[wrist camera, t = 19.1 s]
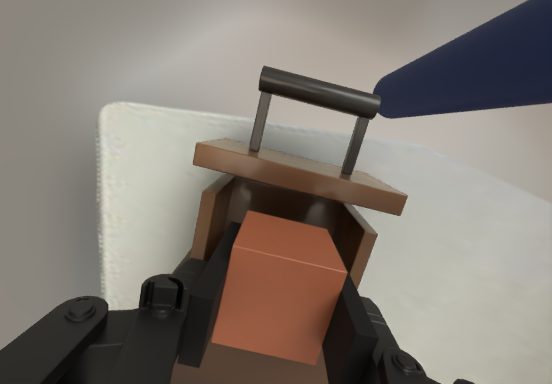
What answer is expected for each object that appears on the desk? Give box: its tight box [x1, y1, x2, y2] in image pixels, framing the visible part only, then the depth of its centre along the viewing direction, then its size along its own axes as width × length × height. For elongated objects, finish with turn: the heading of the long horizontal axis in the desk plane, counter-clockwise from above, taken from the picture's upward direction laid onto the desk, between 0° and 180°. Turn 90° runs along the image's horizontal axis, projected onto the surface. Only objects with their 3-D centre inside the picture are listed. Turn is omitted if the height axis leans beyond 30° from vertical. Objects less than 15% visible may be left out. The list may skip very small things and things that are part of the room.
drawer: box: [190, 66, 408, 289], centre depth 18 cm, size 18×11×7 cm, turn 166°
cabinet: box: [170, 249, 329, 384], centre depth 20 cm, size 15×13×9 cm
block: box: [211, 210, 347, 365], centre depth 13 cm, size 5×5×5 cm
